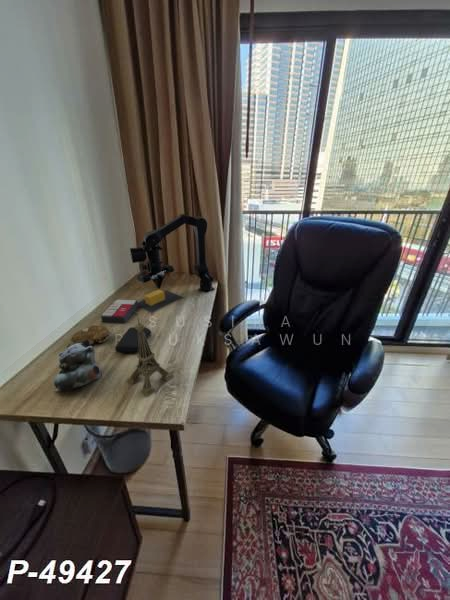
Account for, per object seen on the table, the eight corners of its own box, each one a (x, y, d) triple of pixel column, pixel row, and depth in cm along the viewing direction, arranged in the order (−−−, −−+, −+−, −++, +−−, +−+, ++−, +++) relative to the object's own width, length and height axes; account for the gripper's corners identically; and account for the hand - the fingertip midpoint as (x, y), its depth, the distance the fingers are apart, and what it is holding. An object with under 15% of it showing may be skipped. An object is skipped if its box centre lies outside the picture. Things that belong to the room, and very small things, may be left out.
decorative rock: (118, 331, 107) (85, 331, 108) (116, 323, 105) (82, 323, 107) (104, 347, 97) (68, 347, 98) (102, 338, 95) (64, 338, 96)
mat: (166, 291, 141) (166, 290, 141) (183, 297, 133) (183, 297, 133) (135, 304, 128) (135, 304, 127) (151, 313, 120) (151, 312, 120)
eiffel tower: (154, 362, 89) (141, 300, 77) (173, 376, 83) (163, 311, 71) (127, 380, 82) (109, 314, 70) (146, 396, 76) (130, 327, 64)
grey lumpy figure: (45, 394, 77) (36, 349, 77) (79, 380, 88) (72, 341, 88) (80, 391, 72) (72, 344, 72) (112, 377, 83) (104, 336, 83)
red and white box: (99, 315, 112) (116, 298, 125) (102, 323, 114) (118, 305, 127) (123, 316, 110) (137, 299, 123) (125, 324, 113) (139, 306, 125)
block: (158, 289, 132) (144, 295, 126) (164, 291, 129) (149, 297, 123) (159, 296, 134) (145, 303, 128) (165, 299, 131) (151, 305, 125)
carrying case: (141, 355, 93) (154, 332, 106) (140, 348, 91) (153, 326, 104) (114, 354, 93) (130, 331, 106) (112, 347, 92) (129, 325, 105)
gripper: (159, 251, 132) (163, 279, 140) (127, 261, 120) (134, 290, 127) (173, 255, 126) (176, 283, 133) (141, 266, 114) (147, 296, 121)
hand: (158, 288), depth 129 cm, fingers closed
